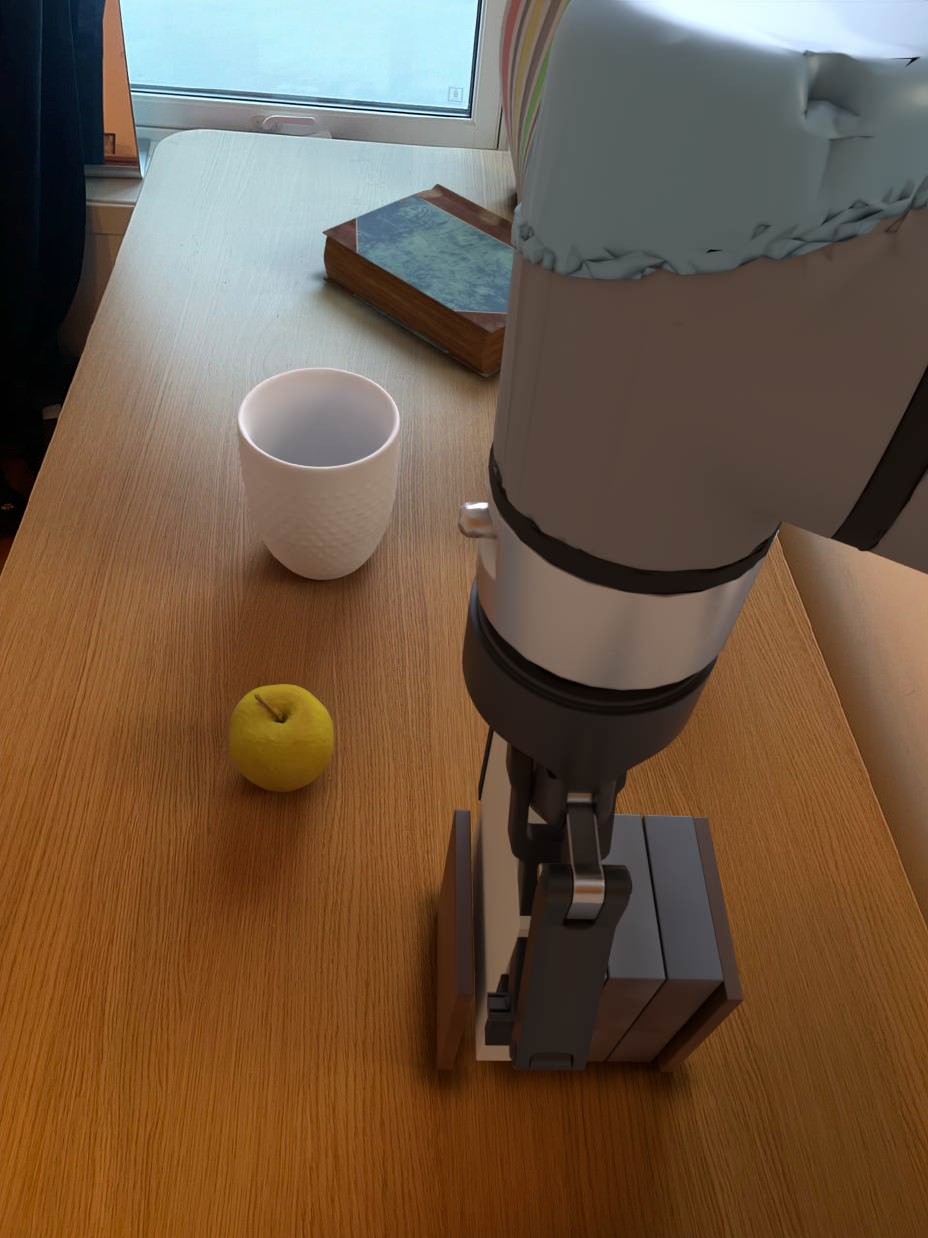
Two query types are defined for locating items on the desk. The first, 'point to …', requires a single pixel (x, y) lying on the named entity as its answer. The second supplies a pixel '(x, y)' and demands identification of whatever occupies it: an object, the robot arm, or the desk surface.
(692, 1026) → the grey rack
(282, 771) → the apple
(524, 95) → the vase
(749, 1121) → the desk surface
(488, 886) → the cream book
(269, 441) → the mug
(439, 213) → the book
